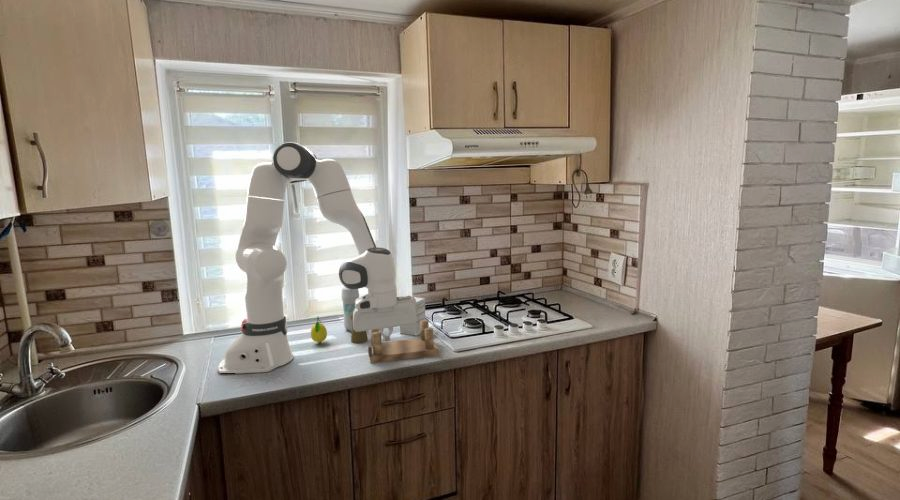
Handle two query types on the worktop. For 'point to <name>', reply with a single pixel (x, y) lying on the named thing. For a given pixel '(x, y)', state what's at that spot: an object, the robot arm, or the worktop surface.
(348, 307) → the bottle
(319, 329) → the lemon
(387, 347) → the wooden peg board
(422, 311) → the supplement box
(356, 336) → the cork
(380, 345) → the folding leg
